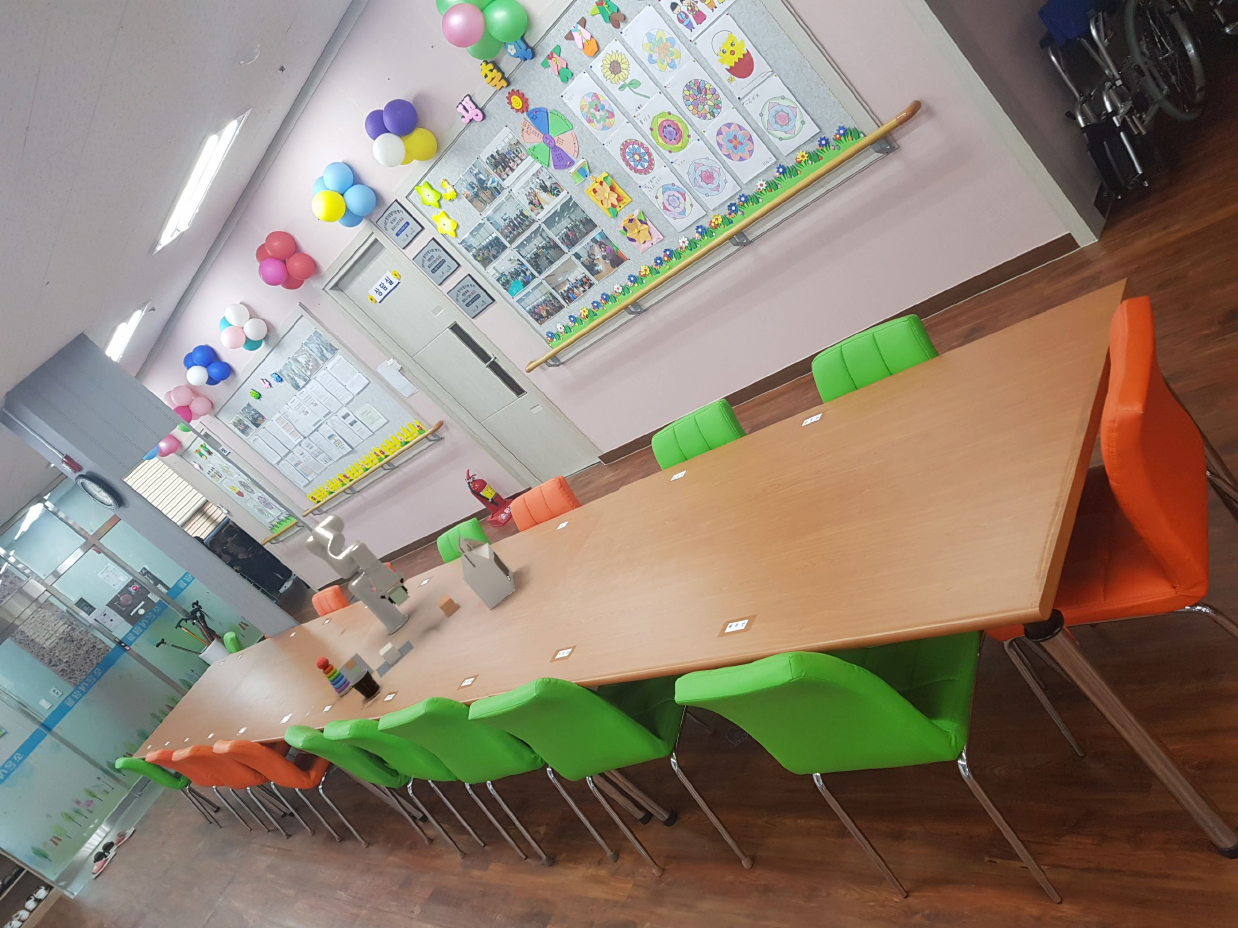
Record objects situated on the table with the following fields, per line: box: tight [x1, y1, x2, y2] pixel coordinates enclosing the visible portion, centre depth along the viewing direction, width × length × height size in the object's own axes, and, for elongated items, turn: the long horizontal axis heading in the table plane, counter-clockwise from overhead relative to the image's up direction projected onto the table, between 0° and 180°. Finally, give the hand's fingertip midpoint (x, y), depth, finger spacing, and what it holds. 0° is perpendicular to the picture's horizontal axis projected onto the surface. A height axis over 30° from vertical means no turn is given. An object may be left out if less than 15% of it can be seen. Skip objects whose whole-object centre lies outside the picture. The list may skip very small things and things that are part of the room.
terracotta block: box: [436, 594, 460, 618], centre depth 361 cm, size 8×6×6 cm
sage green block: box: [387, 584, 411, 607], centre depth 352 cm, size 8×6×6 cm
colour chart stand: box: [337, 652, 375, 683], centre depth 353 cm, size 4×10×12 cm, turn 120°
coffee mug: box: [350, 669, 381, 701], centre depth 332 cm, size 12×9×10 cm
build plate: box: [375, 640, 415, 679], centre depth 352 cm, size 14×18×1 cm
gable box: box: [457, 535, 517, 610], centre depth 338 cm, size 22×13×28 cm, turn 13°
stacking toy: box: [316, 657, 353, 697], centre depth 359 cm, size 8×8×19 cm
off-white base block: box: [378, 641, 402, 666], centre depth 351 cm, size 8×6×6 cm
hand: (400, 598), depth 353 cm, fingers closed on sage green block, 5 cm apart
